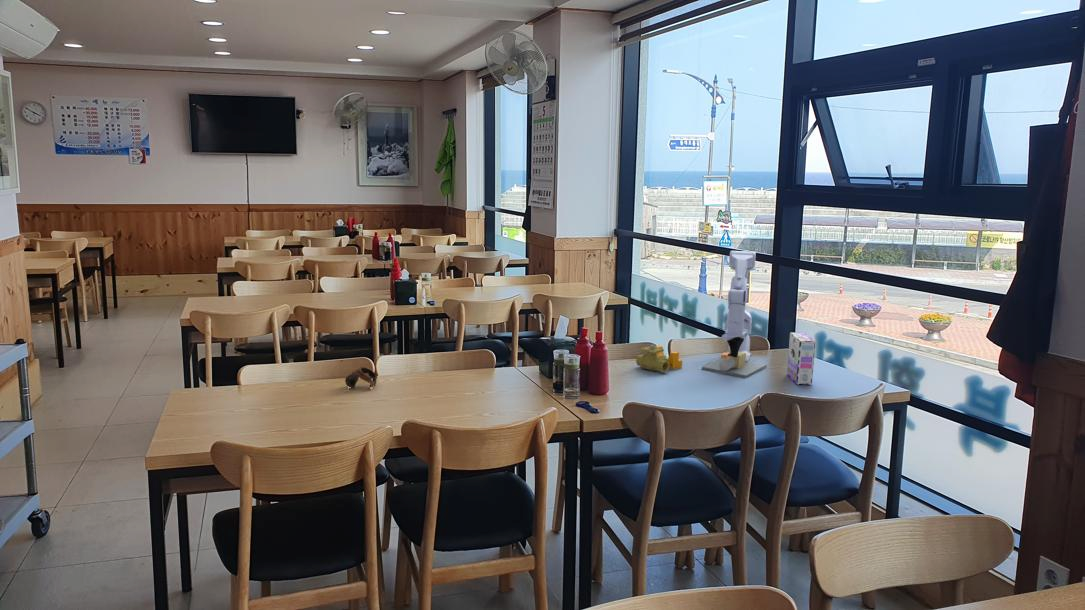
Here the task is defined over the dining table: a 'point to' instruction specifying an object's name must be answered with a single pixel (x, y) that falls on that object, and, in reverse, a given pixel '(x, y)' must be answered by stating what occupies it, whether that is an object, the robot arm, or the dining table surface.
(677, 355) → the pipe clamp
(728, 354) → the valve lever
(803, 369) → the candy box
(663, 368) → the ball valve
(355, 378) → the brown arched figurine
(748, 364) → the valve base
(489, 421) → the dining table surface
